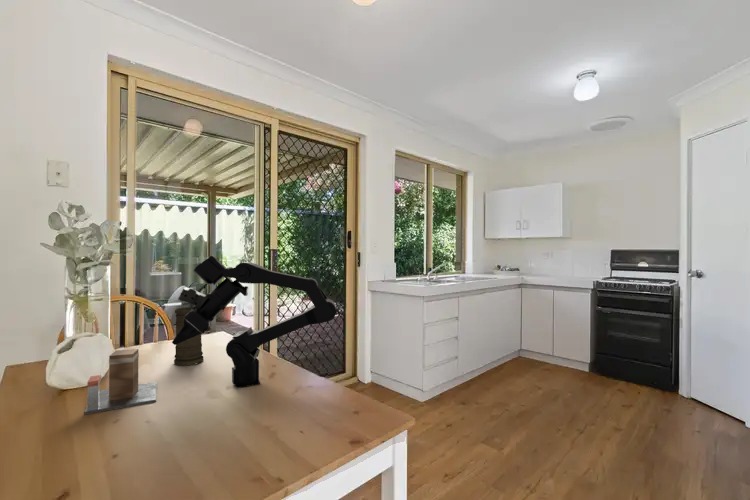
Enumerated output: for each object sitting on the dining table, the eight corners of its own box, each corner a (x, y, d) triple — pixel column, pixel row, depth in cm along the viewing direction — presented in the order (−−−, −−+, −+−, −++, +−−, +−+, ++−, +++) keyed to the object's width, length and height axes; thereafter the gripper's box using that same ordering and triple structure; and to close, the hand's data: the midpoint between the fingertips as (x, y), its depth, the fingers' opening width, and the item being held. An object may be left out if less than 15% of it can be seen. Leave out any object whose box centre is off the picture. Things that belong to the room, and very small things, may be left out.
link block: (138, 390, 95) (138, 348, 95) (133, 397, 90) (133, 353, 90) (115, 392, 93) (115, 350, 93) (108, 400, 88) (108, 355, 88)
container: (195, 366, 117) (195, 310, 117) (167, 366, 117) (168, 310, 117) (208, 357, 126) (208, 306, 126) (183, 357, 126) (183, 306, 126)
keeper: (156, 383, 101) (156, 358, 101) (155, 401, 89) (155, 372, 89) (94, 393, 94) (94, 366, 94) (84, 414, 82) (84, 383, 82)
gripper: (202, 275, 108) (159, 313, 104) (194, 279, 90) (143, 326, 86) (230, 300, 110) (190, 338, 106) (228, 309, 93) (179, 356, 89)
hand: (176, 339), depth 97 cm, fingers open, 9 cm apart
